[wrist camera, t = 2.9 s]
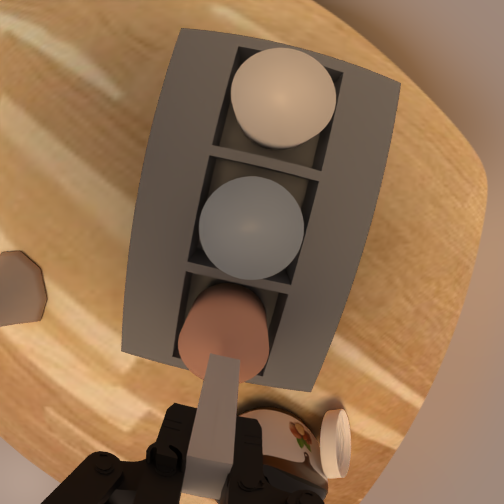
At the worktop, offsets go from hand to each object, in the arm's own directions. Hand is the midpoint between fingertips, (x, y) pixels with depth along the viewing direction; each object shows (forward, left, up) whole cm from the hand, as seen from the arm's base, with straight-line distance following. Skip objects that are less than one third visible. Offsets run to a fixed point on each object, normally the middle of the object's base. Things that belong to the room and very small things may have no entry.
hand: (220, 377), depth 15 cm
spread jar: (+12, +8, -9) cm, 17 cm away
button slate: (-7, 0, -6) cm, 10 cm away
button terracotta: (0, 0, -6) cm, 6 cm away
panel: (-7, 0, -9) cm, 12 cm away
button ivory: (-14, 0, -6) cm, 16 cm away
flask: (+4, -20, -9) cm, 22 cm away
